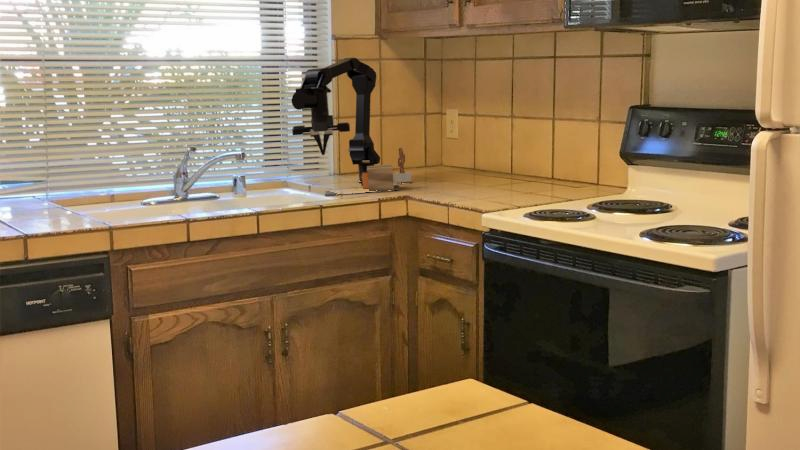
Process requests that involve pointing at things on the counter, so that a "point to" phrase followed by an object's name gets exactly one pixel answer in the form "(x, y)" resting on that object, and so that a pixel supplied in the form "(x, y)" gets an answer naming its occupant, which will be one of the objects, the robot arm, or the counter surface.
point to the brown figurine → (401, 163)
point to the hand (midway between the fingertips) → (323, 155)
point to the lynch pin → (396, 178)
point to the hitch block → (380, 177)
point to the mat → (396, 187)
